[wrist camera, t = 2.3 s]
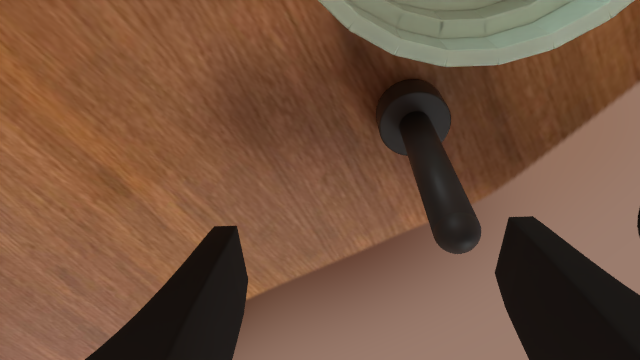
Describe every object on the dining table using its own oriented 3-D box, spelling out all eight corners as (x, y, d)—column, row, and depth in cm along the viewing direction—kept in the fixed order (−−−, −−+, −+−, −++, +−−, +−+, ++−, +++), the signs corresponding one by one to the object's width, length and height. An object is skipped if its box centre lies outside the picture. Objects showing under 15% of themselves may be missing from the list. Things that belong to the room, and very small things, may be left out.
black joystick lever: (453, 87, 19) (541, 213, 11) (428, 146, 21) (489, 291, 13) (387, 72, 19) (430, 191, 11) (367, 133, 21) (392, 275, 13)
